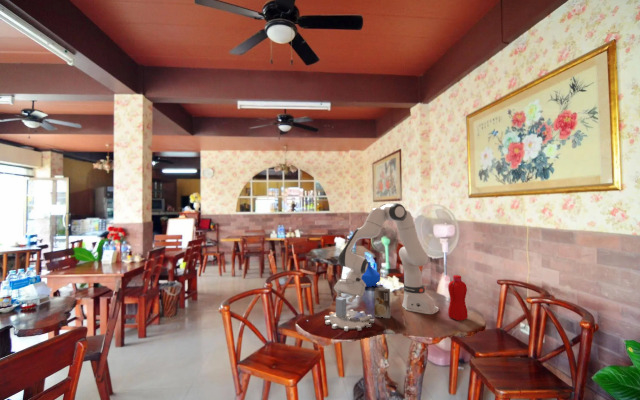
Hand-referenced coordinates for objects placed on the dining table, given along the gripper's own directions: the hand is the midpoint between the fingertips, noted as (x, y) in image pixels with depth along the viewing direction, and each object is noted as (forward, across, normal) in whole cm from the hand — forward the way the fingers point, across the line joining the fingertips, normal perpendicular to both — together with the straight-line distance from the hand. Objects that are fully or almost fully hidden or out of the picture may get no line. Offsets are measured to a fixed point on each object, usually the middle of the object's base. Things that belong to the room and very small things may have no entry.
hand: (343, 300), depth 183 cm
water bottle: (-21, +52, +37) cm, 67 cm away
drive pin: (+8, 0, +4) cm, 9 cm away
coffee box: (-4, +17, +19) cm, 26 cm away
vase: (-40, -26, +56) cm, 73 cm away
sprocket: (+9, +6, +6) cm, 12 cm away
